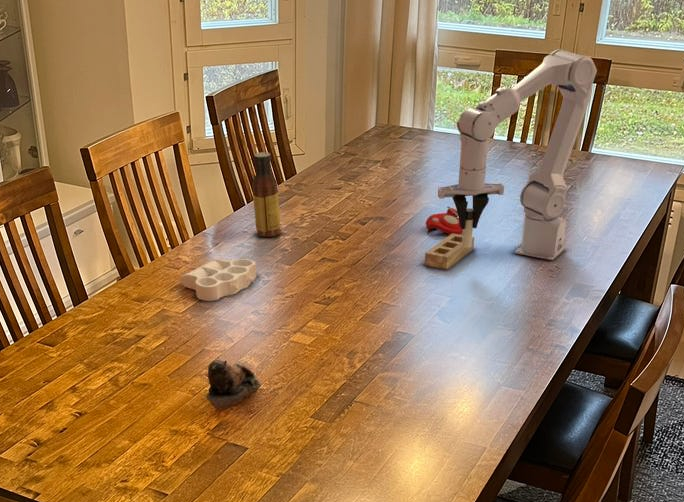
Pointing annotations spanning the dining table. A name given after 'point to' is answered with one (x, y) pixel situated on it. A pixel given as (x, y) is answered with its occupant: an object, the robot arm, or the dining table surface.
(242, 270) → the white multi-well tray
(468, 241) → the marker
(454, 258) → the pen block
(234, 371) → the bison figurine
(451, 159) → the dining table surface
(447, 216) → the red curved piece
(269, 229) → the sauce bottle
